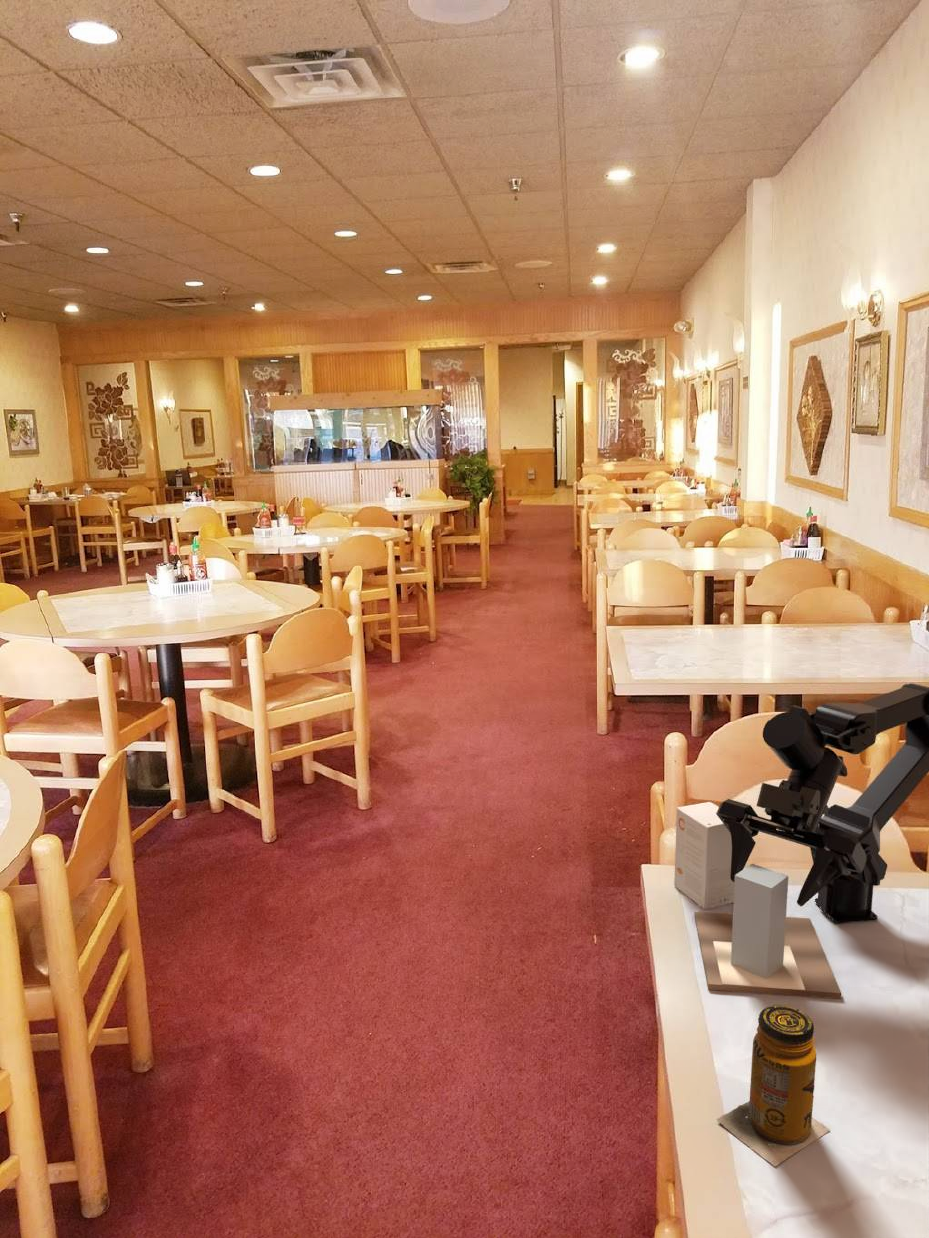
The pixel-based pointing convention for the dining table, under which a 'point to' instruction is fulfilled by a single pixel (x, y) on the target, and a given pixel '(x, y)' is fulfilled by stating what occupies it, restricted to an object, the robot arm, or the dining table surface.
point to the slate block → (759, 920)
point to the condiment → (779, 1087)
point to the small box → (703, 856)
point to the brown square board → (795, 977)
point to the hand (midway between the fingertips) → (765, 892)
